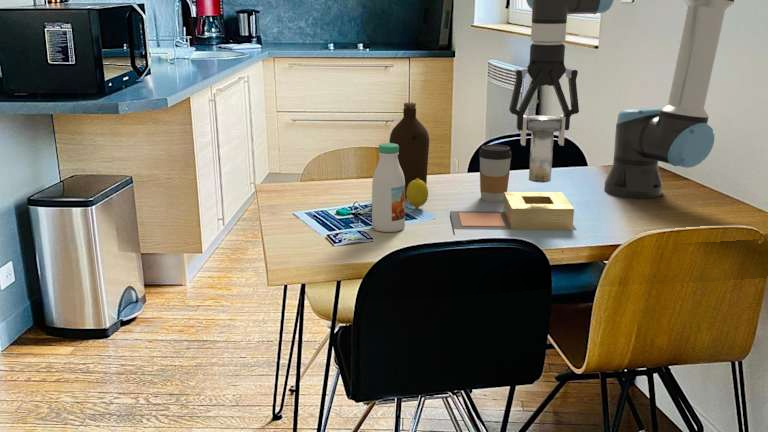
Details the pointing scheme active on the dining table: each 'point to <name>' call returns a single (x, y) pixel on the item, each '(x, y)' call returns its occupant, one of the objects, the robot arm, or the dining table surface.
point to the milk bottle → (388, 191)
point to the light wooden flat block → (538, 211)
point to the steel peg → (542, 146)
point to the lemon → (417, 193)
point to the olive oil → (411, 145)
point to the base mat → (479, 220)
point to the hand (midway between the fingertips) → (541, 144)
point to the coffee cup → (494, 172)
